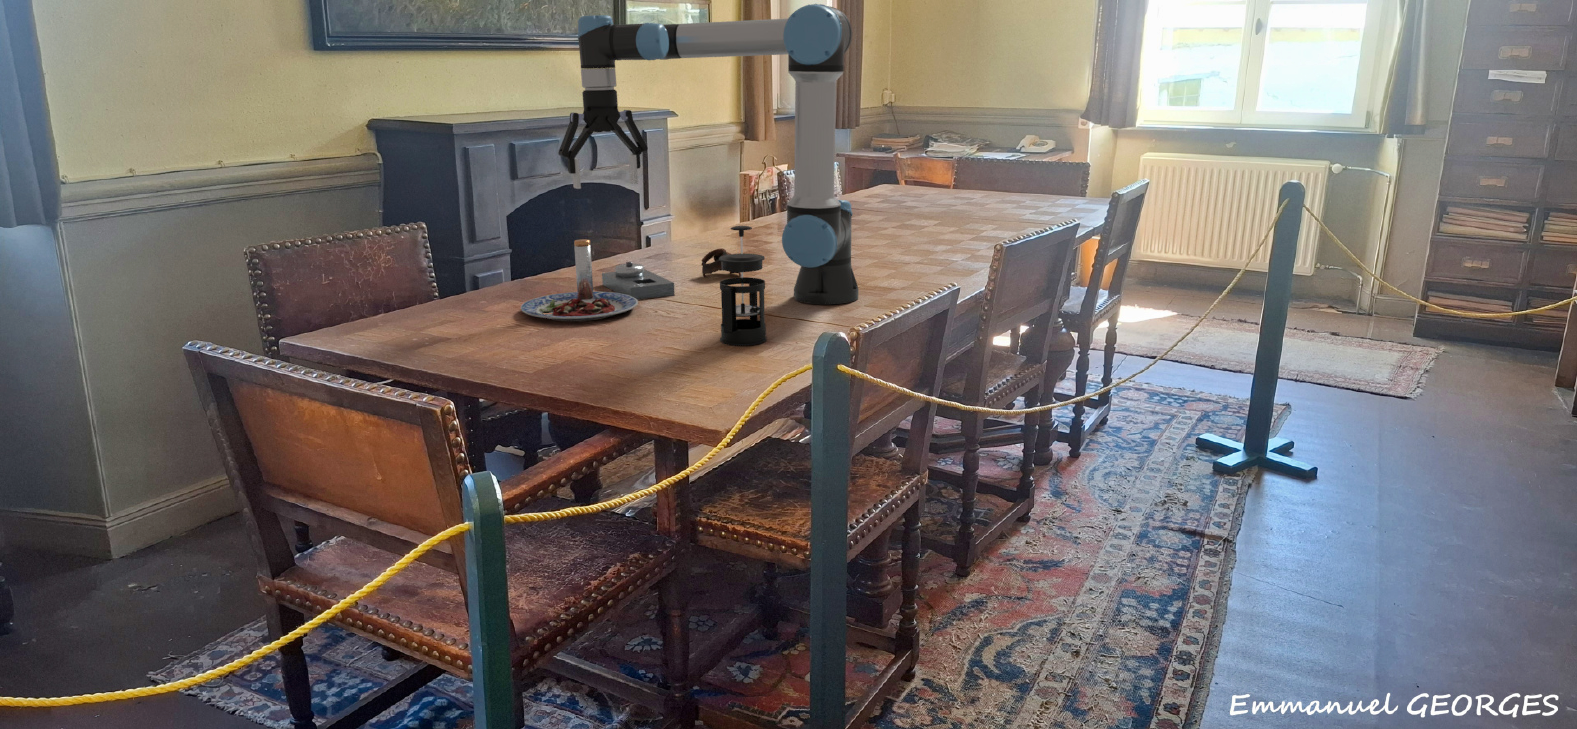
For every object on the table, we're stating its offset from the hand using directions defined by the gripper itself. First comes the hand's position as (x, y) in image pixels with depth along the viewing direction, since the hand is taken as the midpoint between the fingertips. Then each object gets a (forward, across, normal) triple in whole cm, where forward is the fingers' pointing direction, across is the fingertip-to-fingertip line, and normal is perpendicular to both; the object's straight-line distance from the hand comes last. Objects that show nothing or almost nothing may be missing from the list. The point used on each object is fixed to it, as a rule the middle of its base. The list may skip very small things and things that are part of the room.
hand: (606, 185), depth 245 cm
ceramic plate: (+27, +10, +6) cm, 30 cm away
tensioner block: (+27, -10, -9) cm, 30 cm away
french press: (+28, -9, +47) cm, 55 cm away
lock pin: (+24, +8, +4) cm, 26 cm away
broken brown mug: (+27, -35, -13) cm, 46 cm away
